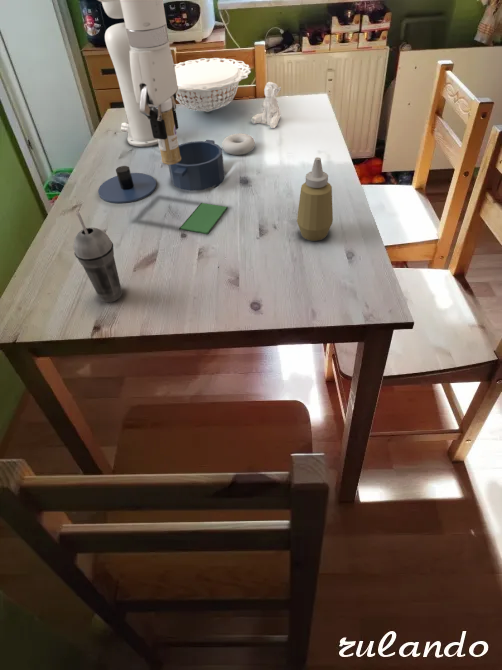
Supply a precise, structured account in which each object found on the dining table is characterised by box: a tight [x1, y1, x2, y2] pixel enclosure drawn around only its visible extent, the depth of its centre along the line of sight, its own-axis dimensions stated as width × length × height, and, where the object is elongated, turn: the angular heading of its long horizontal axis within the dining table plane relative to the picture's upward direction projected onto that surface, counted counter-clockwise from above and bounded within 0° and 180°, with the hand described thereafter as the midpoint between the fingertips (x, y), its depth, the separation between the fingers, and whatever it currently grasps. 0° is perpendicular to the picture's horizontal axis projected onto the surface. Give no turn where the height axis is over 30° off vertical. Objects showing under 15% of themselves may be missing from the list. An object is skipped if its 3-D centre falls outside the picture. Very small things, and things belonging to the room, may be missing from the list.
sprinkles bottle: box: [151, 98, 181, 165], centre depth 101 cm, size 5×5×14 cm
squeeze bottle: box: [296, 156, 334, 242], centre depth 100 cm, size 8×8×18 cm
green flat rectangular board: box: [178, 202, 228, 235], centre depth 115 cm, size 20×12×1 cm, turn 69°
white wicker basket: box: [174, 57, 252, 113], centre depth 157 cm, size 32×32×13 cm
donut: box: [221, 132, 256, 156], centre depth 138 cm, size 10×4×10 cm
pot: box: [168, 139, 226, 192], centre depth 125 cm, size 15×20×7 cm
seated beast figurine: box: [251, 81, 282, 129], centre depth 149 cm, size 10×9×12 cm
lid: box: [97, 165, 157, 204], centre depth 124 cm, size 16×16×6 cm
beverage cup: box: [73, 211, 123, 303], centre depth 88 cm, size 7×7×20 cm
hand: (166, 132), depth 101 cm, fingers closed on sprinkles bottle, 4 cm apart
